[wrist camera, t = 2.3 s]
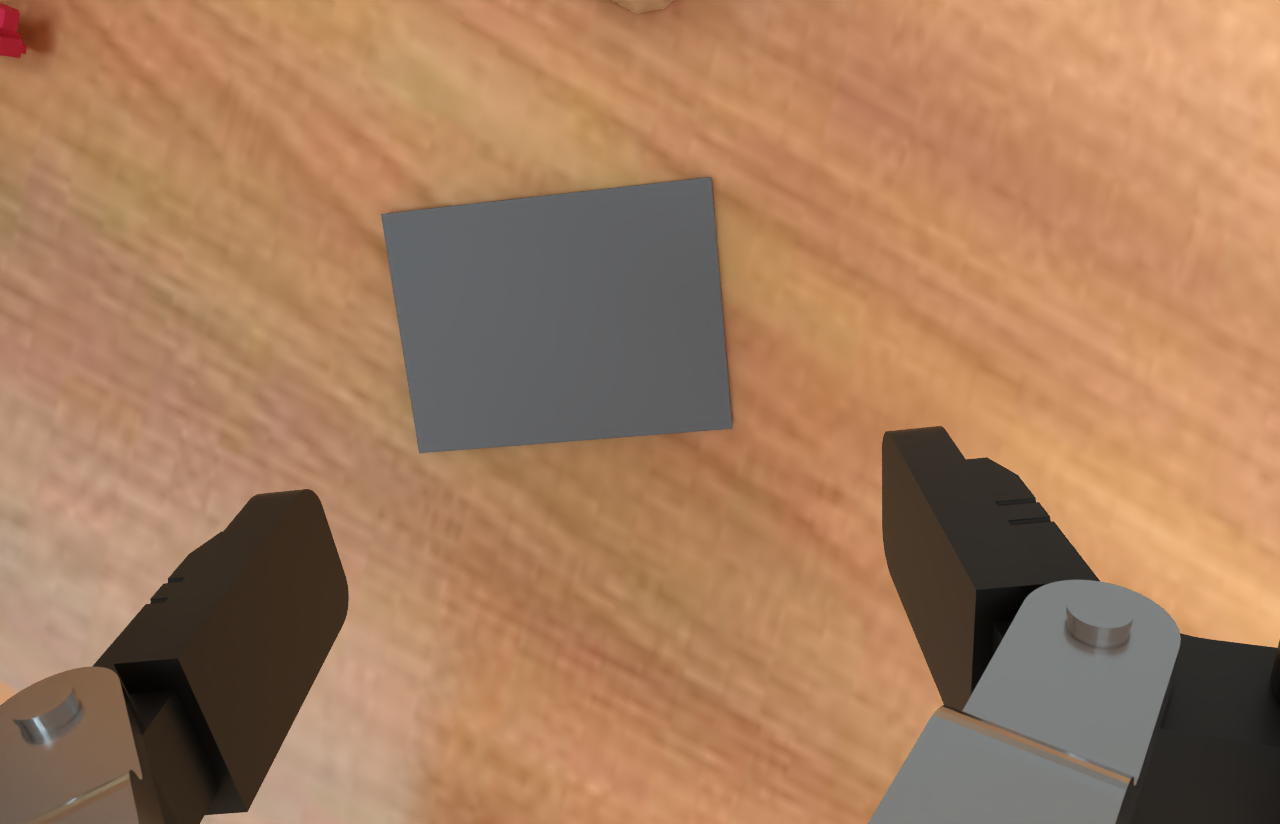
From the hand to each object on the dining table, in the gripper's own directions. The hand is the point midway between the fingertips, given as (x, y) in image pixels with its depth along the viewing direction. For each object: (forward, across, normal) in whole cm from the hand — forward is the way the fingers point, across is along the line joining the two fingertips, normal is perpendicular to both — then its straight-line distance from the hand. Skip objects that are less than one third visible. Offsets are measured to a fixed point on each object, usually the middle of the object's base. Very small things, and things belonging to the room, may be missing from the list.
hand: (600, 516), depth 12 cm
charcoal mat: (+20, +3, +4) cm, 20 cm away
